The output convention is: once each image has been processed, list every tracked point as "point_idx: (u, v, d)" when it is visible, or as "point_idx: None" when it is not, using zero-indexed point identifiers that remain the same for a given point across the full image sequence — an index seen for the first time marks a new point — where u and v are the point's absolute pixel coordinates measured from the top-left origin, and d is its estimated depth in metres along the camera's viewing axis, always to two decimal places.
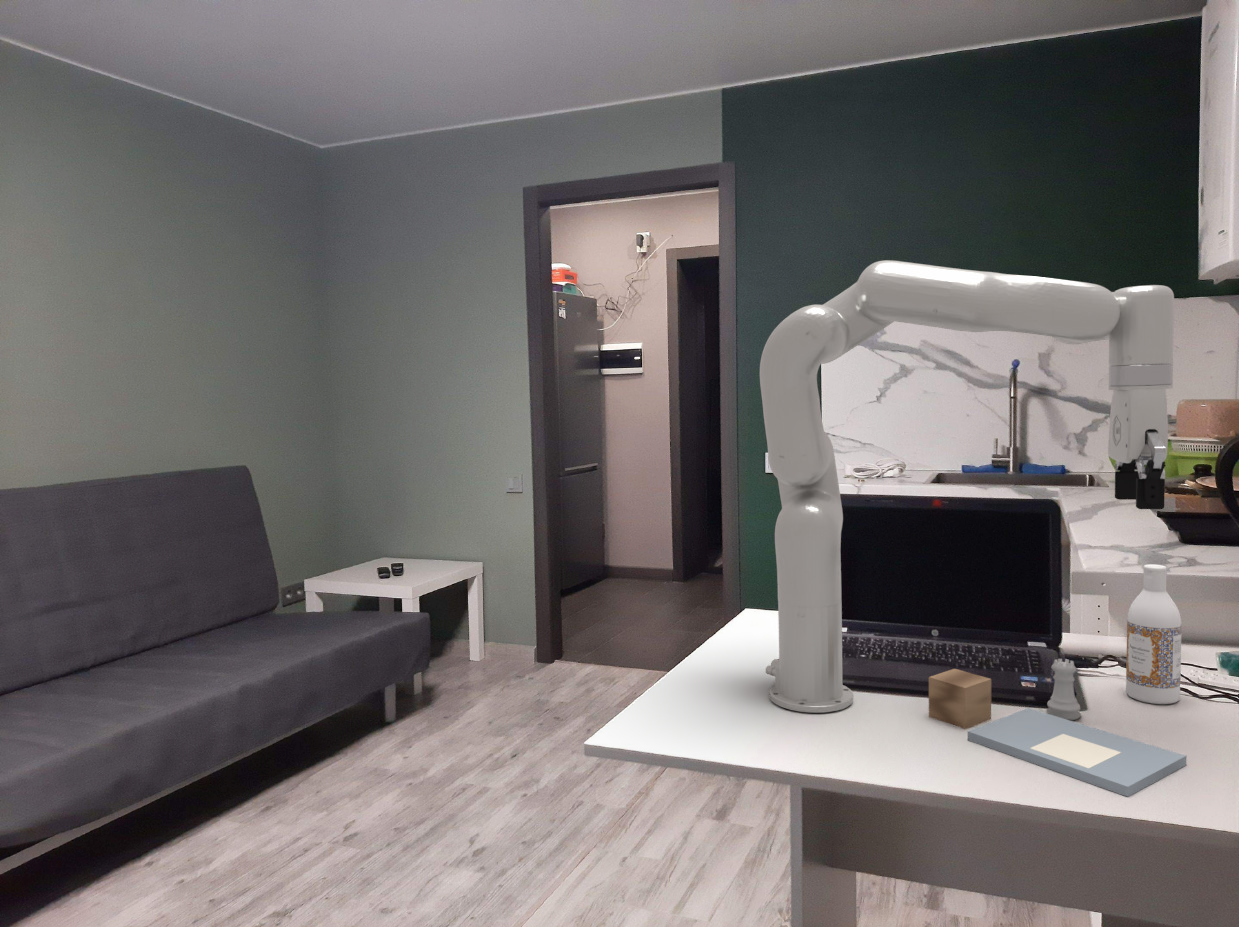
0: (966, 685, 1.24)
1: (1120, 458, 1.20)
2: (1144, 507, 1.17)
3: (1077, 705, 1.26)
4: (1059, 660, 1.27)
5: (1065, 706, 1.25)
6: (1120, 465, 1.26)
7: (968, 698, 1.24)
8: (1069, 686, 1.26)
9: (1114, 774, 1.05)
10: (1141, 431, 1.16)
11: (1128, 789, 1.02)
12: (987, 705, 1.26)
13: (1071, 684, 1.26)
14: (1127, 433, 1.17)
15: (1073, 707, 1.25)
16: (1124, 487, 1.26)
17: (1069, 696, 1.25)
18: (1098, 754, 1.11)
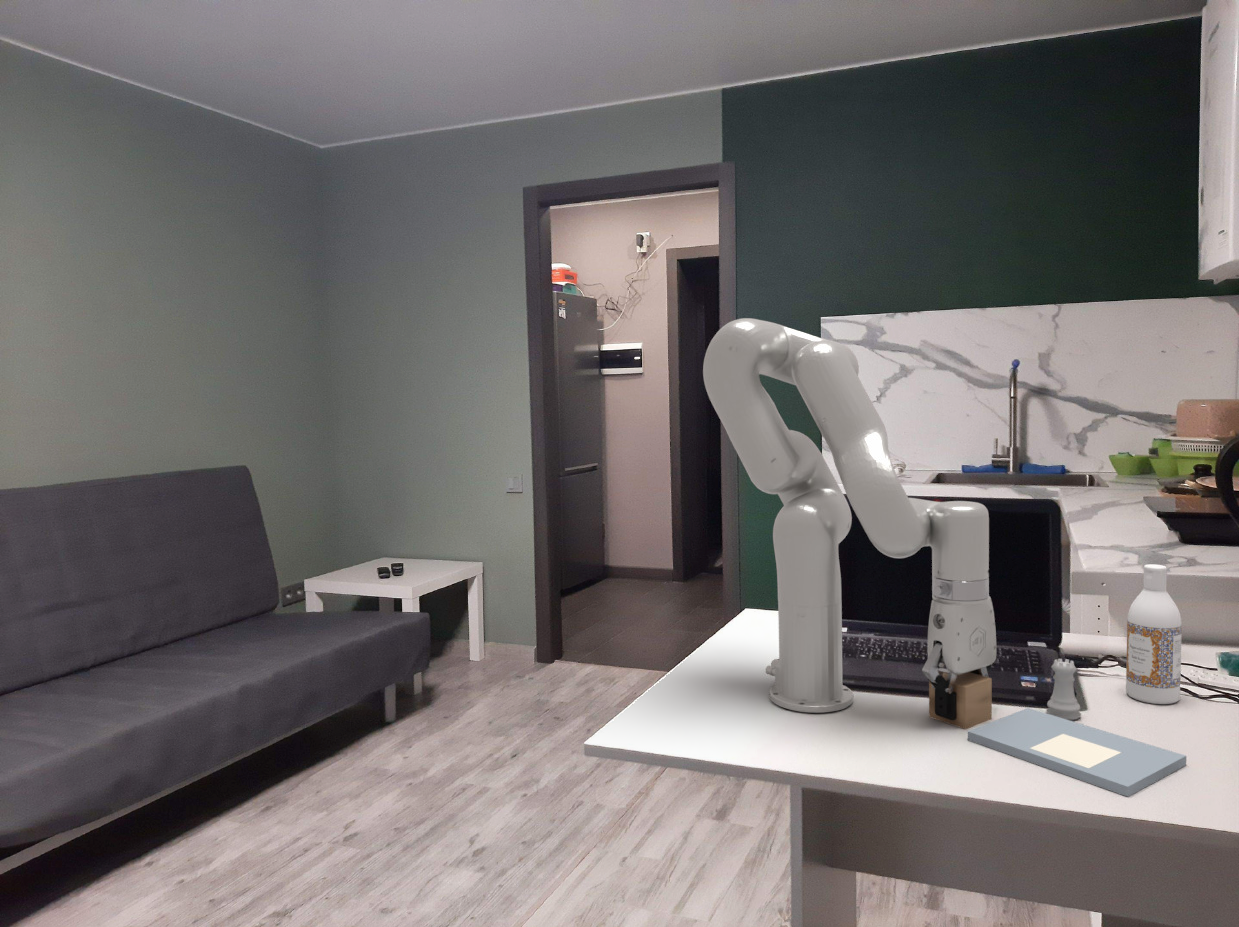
0: (967, 685, 1.24)
1: (986, 663, 1.26)
2: None
3: (1077, 705, 1.26)
4: (1059, 660, 1.27)
5: (1065, 706, 1.25)
6: None
7: (969, 697, 1.23)
8: (1069, 686, 1.26)
9: (1114, 774, 1.05)
10: None
11: (1128, 789, 1.02)
12: (987, 704, 1.26)
13: (1071, 684, 1.26)
14: (994, 636, 1.27)
15: (1073, 707, 1.25)
16: None
17: (1069, 696, 1.25)
18: (1098, 754, 1.11)
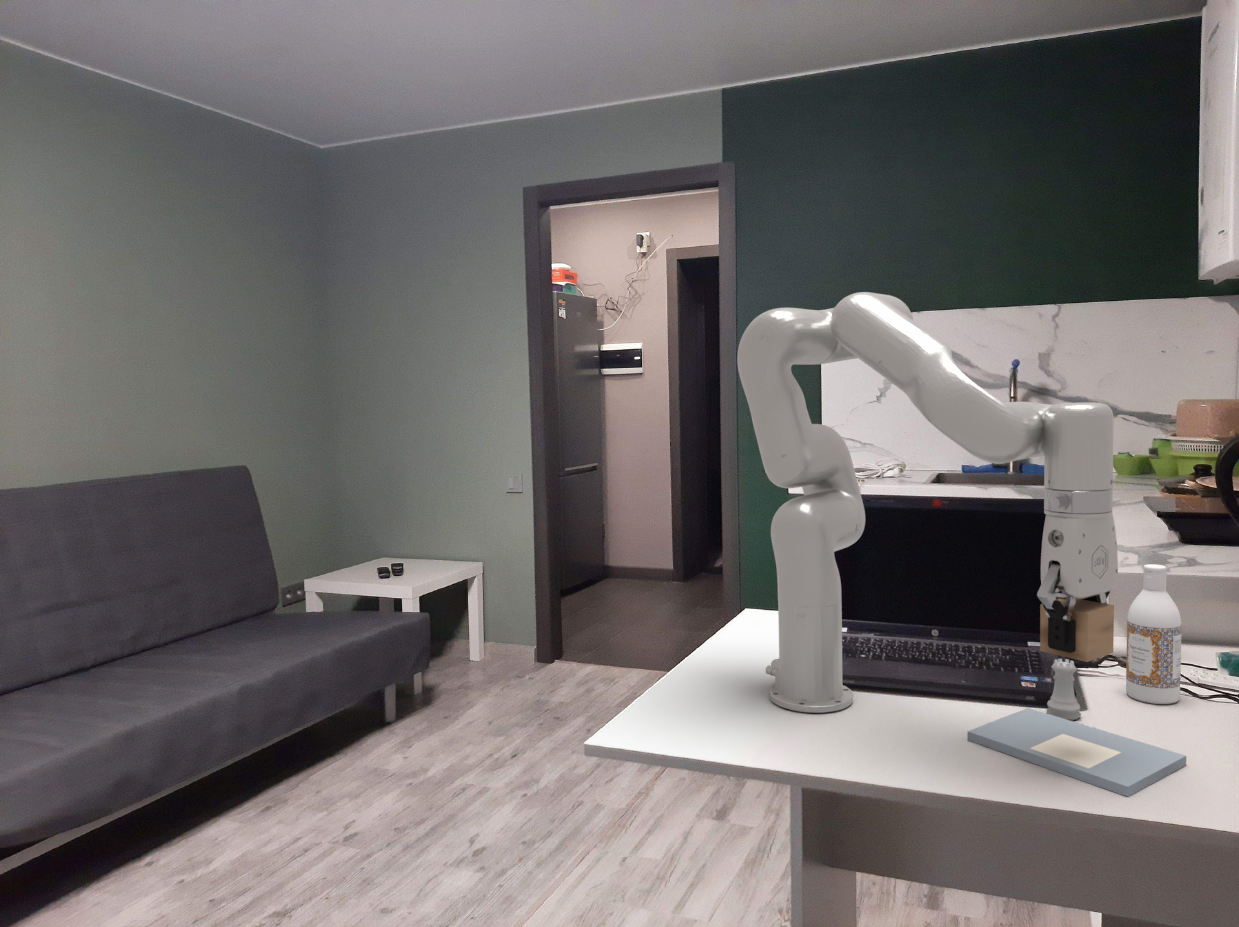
0: (1088, 611, 1.07)
1: (1108, 588, 1.09)
2: None
3: (1077, 705, 1.26)
4: (1059, 660, 1.27)
5: (1065, 706, 1.25)
6: None
7: (1091, 625, 1.07)
8: (1069, 686, 1.26)
9: (1114, 774, 1.05)
10: None
11: (1128, 789, 1.02)
12: (1109, 635, 1.10)
13: (1071, 684, 1.26)
14: (1116, 557, 1.10)
15: (1073, 707, 1.25)
16: None
17: (1069, 696, 1.25)
18: (1098, 754, 1.11)
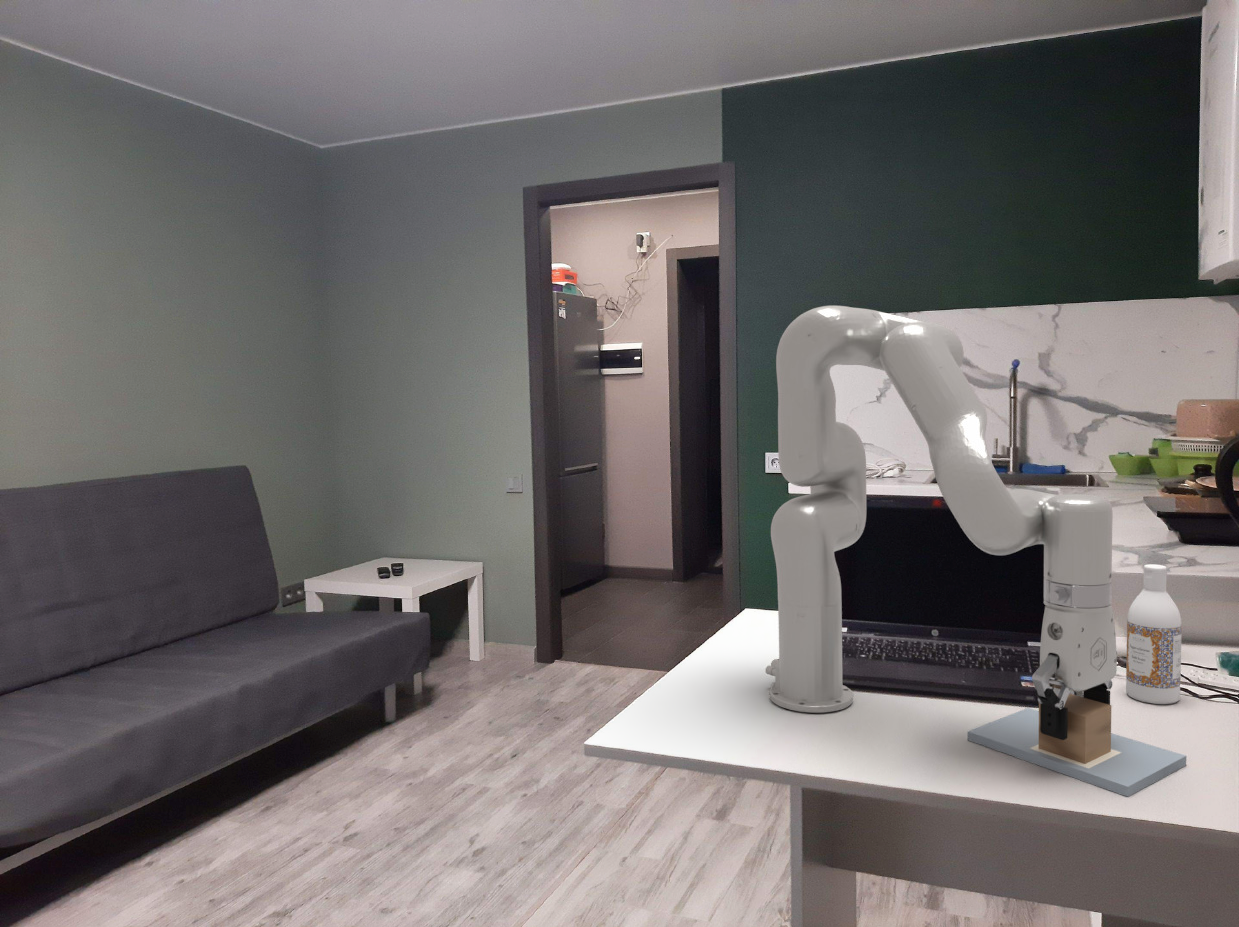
0: (1086, 713, 1.09)
1: (1106, 679, 1.10)
2: None
3: None
4: None
5: None
6: None
7: (1089, 727, 1.08)
8: None
9: (1114, 774, 1.05)
10: None
11: (1128, 789, 1.02)
12: (1107, 735, 1.11)
13: None
14: (1114, 648, 1.11)
15: None
16: None
17: None
18: None
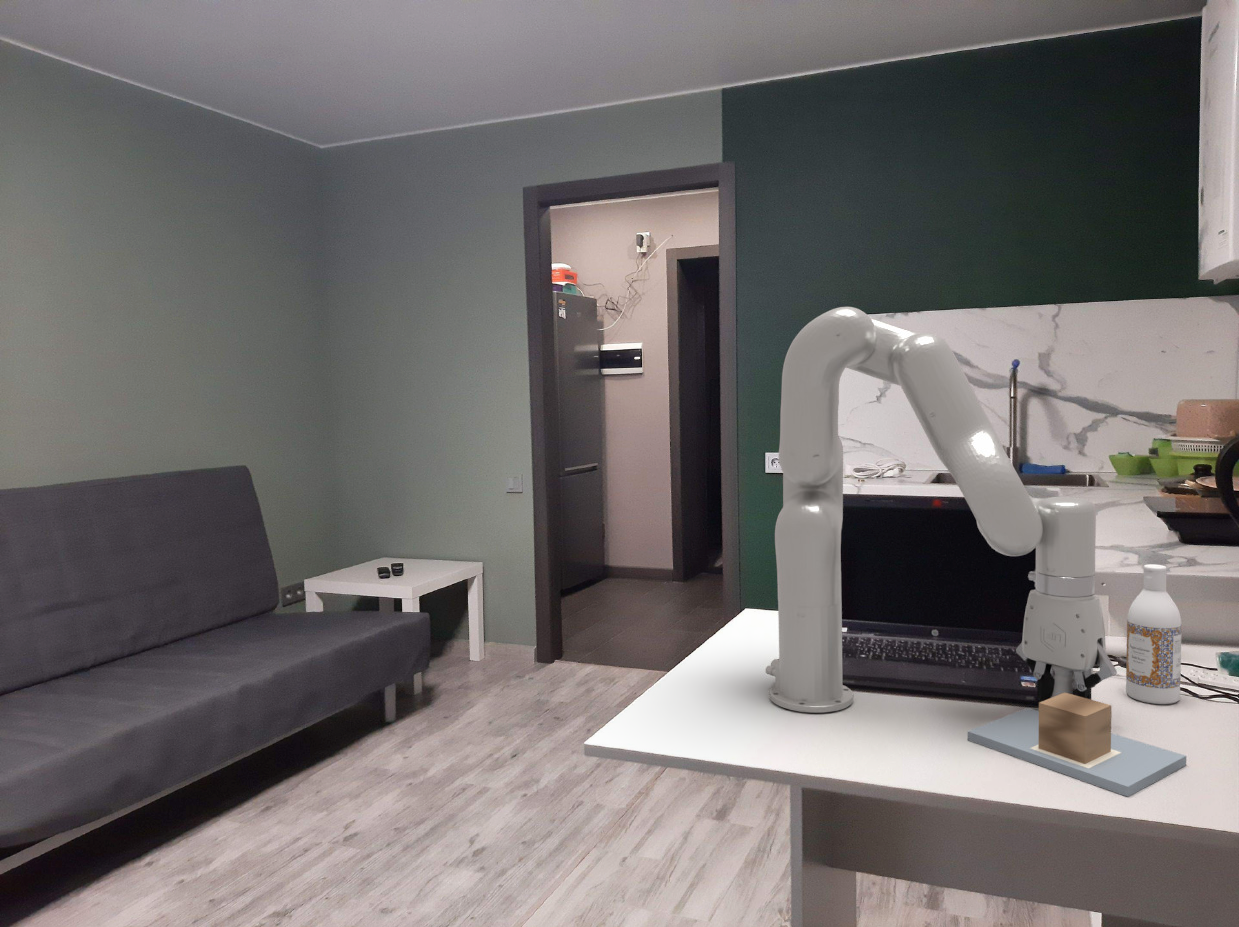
0: (1086, 713, 1.09)
1: (1066, 665, 1.23)
2: None
3: None
4: None
5: None
6: (1043, 671, 1.28)
7: (1089, 727, 1.08)
8: (1069, 686, 1.26)
9: (1114, 774, 1.05)
10: (1095, 641, 1.21)
11: (1128, 789, 1.02)
12: (1107, 735, 1.11)
13: (1071, 684, 1.26)
14: (1083, 644, 1.21)
15: None
16: (1047, 695, 1.28)
17: None
18: None
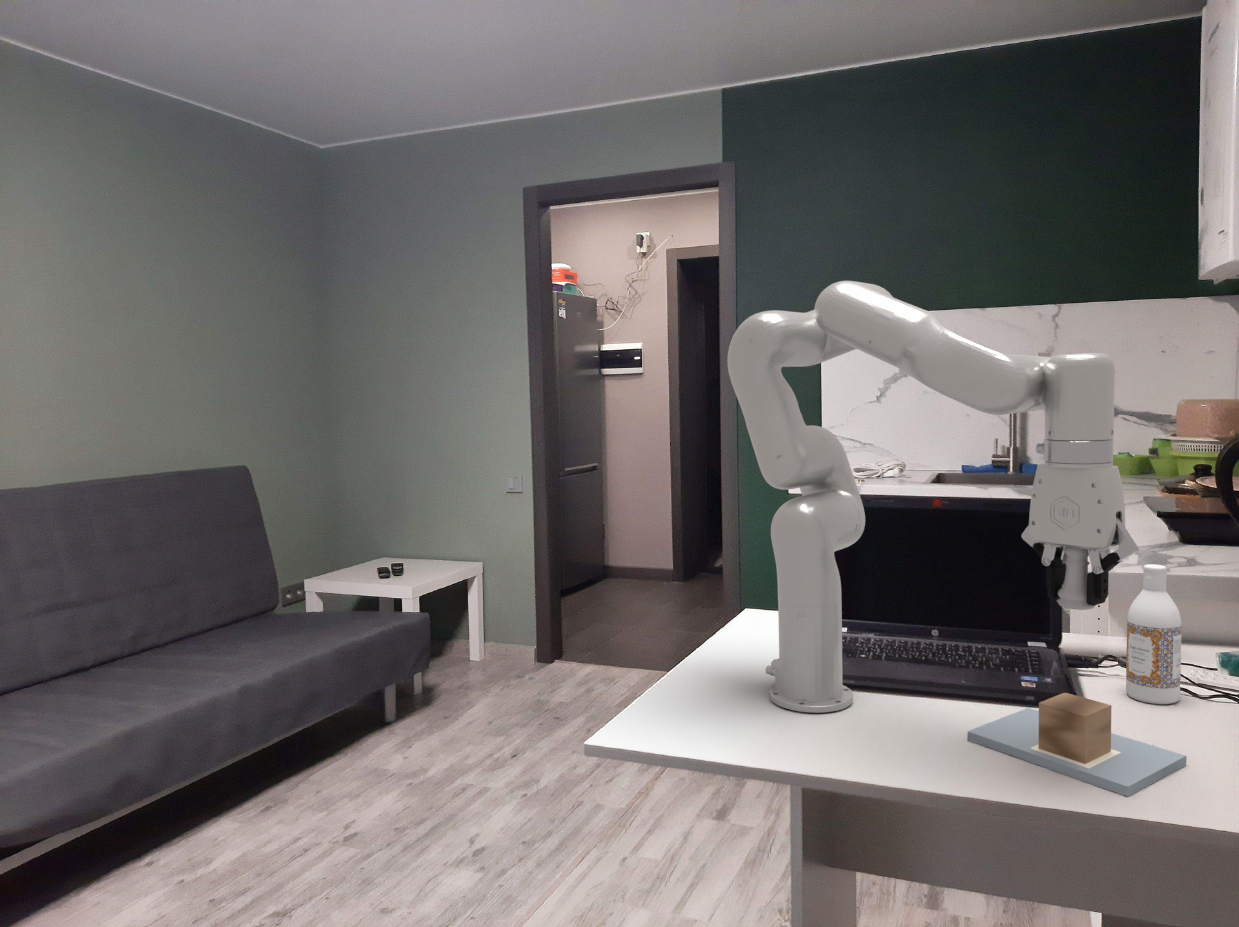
0: (1086, 713, 1.09)
1: (1080, 544, 1.07)
2: (1095, 603, 1.08)
3: None
4: None
5: (1078, 593, 1.09)
6: (1053, 556, 1.12)
7: (1089, 727, 1.08)
8: (1083, 570, 1.09)
9: (1114, 774, 1.05)
10: (1113, 514, 1.05)
11: (1128, 789, 1.02)
12: (1107, 735, 1.11)
13: (1086, 568, 1.09)
14: (1100, 517, 1.05)
15: None
16: (1057, 583, 1.12)
17: (1083, 582, 1.09)
18: None
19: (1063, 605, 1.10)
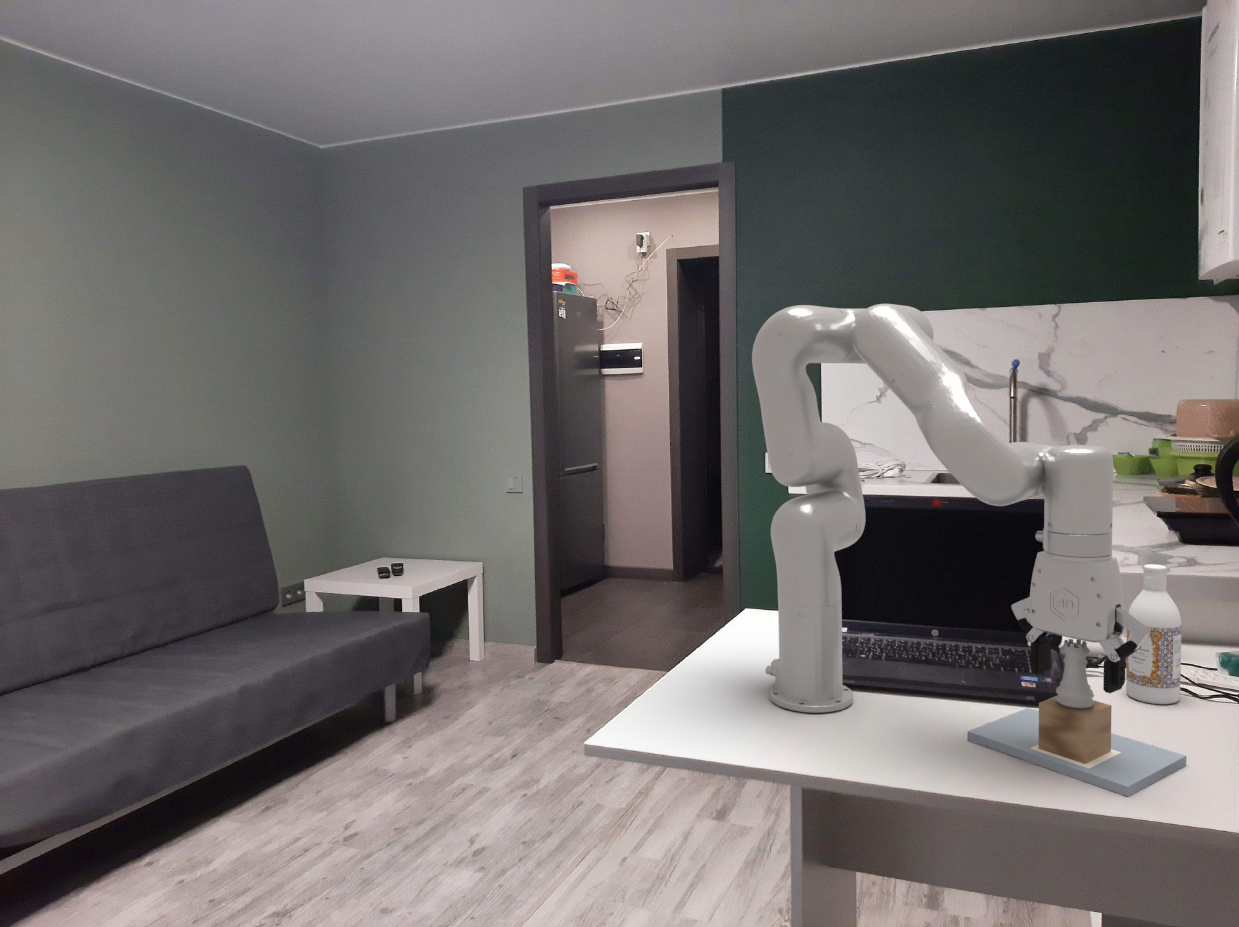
0: (1086, 713, 1.09)
1: (1079, 636, 1.08)
2: (1112, 690, 1.07)
3: (1090, 691, 1.11)
4: (1070, 641, 1.12)
5: (1077, 693, 1.10)
6: (1039, 636, 1.14)
7: (1089, 727, 1.08)
8: (1081, 670, 1.10)
9: (1114, 774, 1.05)
10: (1112, 608, 1.06)
11: (1128, 789, 1.02)
12: (1107, 735, 1.11)
13: (1084, 668, 1.11)
14: (1099, 611, 1.06)
15: (1086, 694, 1.10)
16: (1041, 659, 1.15)
17: (1081, 681, 1.10)
18: None
19: (1061, 704, 1.11)
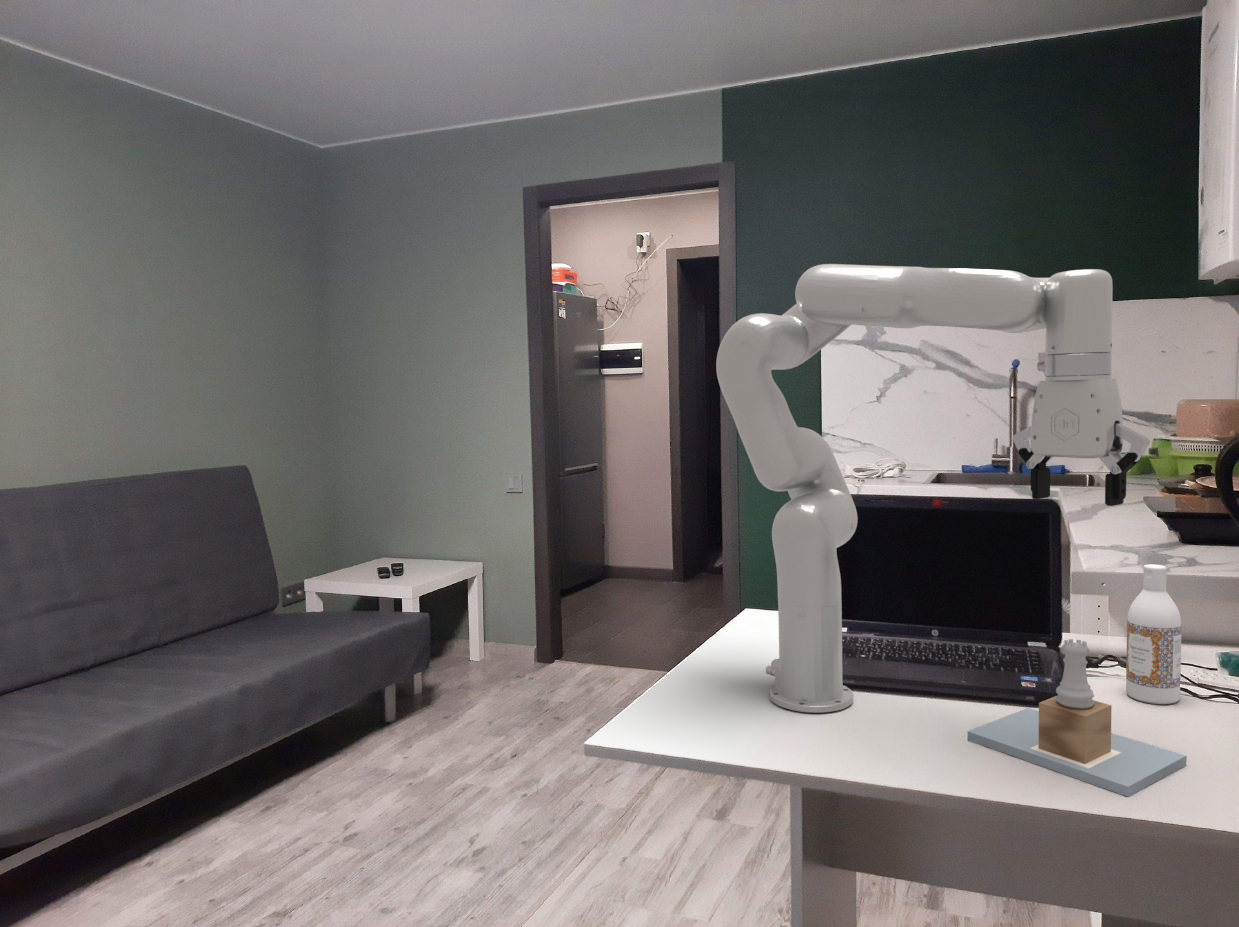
0: (1086, 713, 1.09)
1: (1080, 453, 1.11)
2: (1113, 503, 1.10)
3: (1090, 692, 1.11)
4: (1070, 641, 1.12)
5: (1077, 693, 1.10)
6: (1038, 462, 1.18)
7: (1089, 727, 1.08)
8: (1081, 670, 1.10)
9: (1114, 774, 1.05)
10: (1112, 423, 1.09)
11: (1128, 789, 1.02)
12: (1107, 735, 1.11)
13: (1084, 668, 1.11)
14: (1099, 426, 1.09)
15: (1086, 694, 1.10)
16: (1041, 485, 1.18)
17: (1081, 681, 1.10)
18: None
19: (1061, 704, 1.11)
